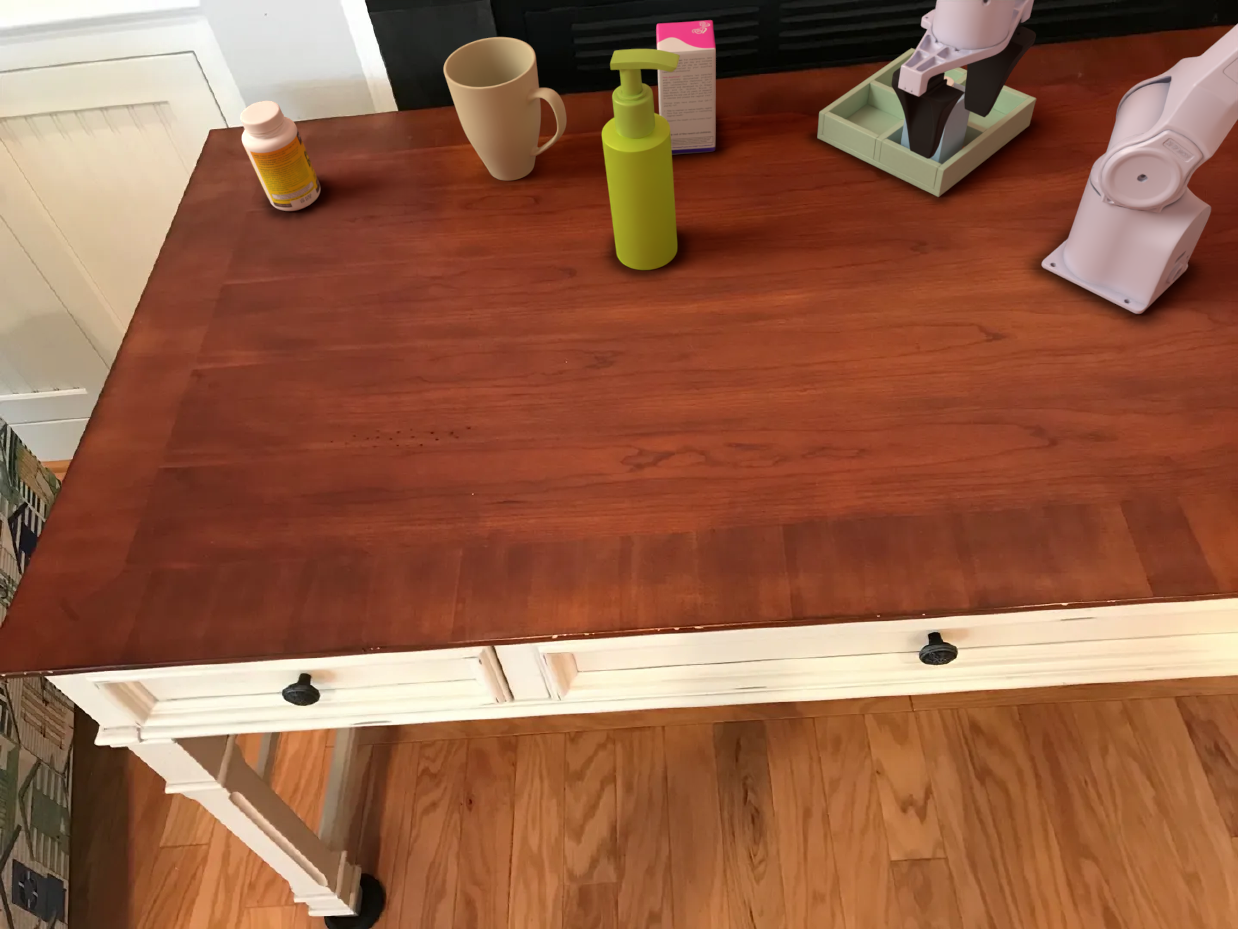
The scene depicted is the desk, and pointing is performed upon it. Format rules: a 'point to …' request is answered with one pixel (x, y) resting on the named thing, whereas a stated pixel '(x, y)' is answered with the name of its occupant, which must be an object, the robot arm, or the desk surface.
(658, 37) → the supplement box
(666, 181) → the soap dispenser
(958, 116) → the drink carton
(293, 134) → the supplement bottle
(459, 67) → the mug
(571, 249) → the desk surface
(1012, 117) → the tray
